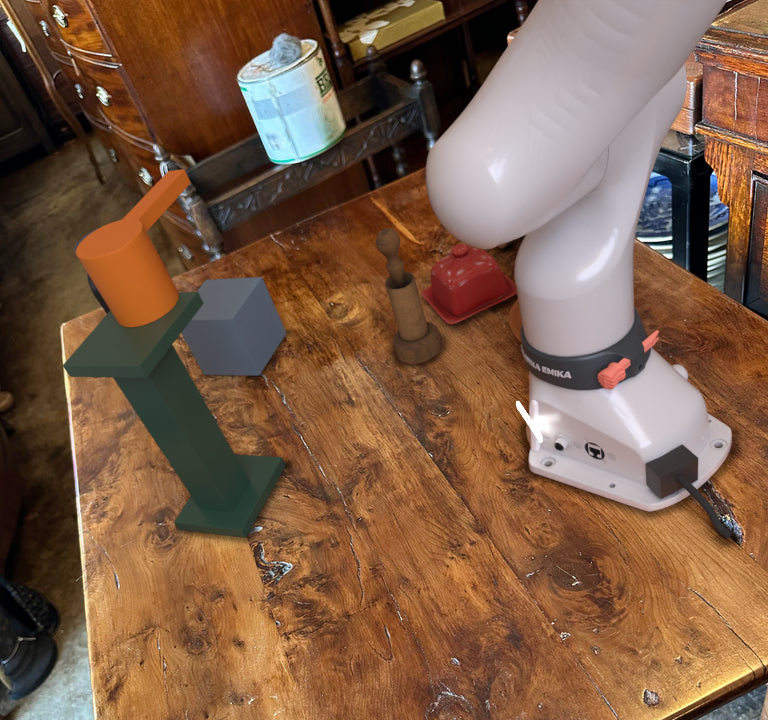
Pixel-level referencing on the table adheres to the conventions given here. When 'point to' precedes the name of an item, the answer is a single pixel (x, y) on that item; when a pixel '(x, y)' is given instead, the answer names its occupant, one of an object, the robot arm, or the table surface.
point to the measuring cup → (134, 258)
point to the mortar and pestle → (407, 306)
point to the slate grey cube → (234, 327)
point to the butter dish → (466, 284)
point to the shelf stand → (180, 419)
